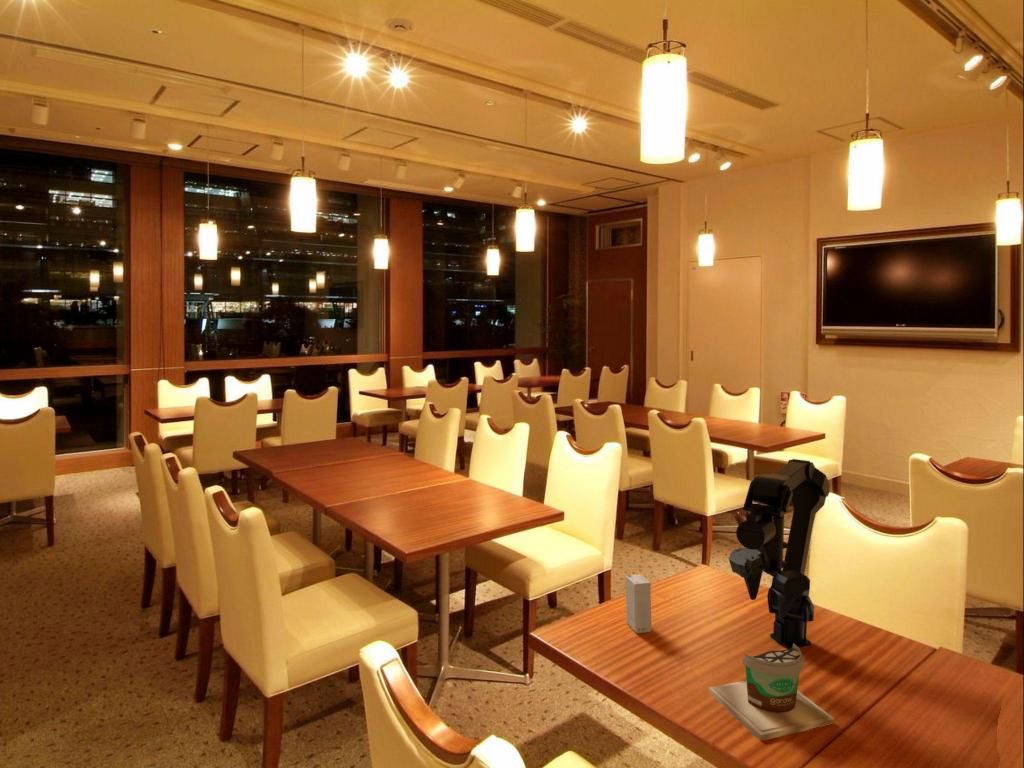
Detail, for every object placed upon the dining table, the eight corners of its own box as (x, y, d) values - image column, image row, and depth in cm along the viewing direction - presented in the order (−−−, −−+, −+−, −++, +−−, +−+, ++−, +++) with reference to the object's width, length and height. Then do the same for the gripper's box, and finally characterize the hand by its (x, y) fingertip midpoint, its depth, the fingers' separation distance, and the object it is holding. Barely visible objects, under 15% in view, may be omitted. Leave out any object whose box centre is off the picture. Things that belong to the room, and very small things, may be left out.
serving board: (776, 683, 138) (776, 673, 138) (834, 729, 123) (834, 717, 123) (708, 697, 133) (708, 686, 133) (760, 745, 118) (760, 734, 118)
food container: (763, 722, 121) (764, 669, 120) (741, 704, 127) (742, 653, 126) (818, 708, 125) (819, 657, 124) (794, 692, 131) (795, 642, 130)
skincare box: (652, 632, 159) (652, 582, 158) (634, 634, 158) (634, 584, 157) (641, 620, 165) (642, 573, 164) (624, 622, 164) (624, 574, 163)
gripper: (709, 527, 147) (708, 596, 148) (765, 555, 129) (763, 633, 130) (753, 522, 150) (751, 589, 151) (813, 549, 132) (810, 625, 134)
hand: (766, 608), depth 142 cm, fingers open, 9 cm apart
